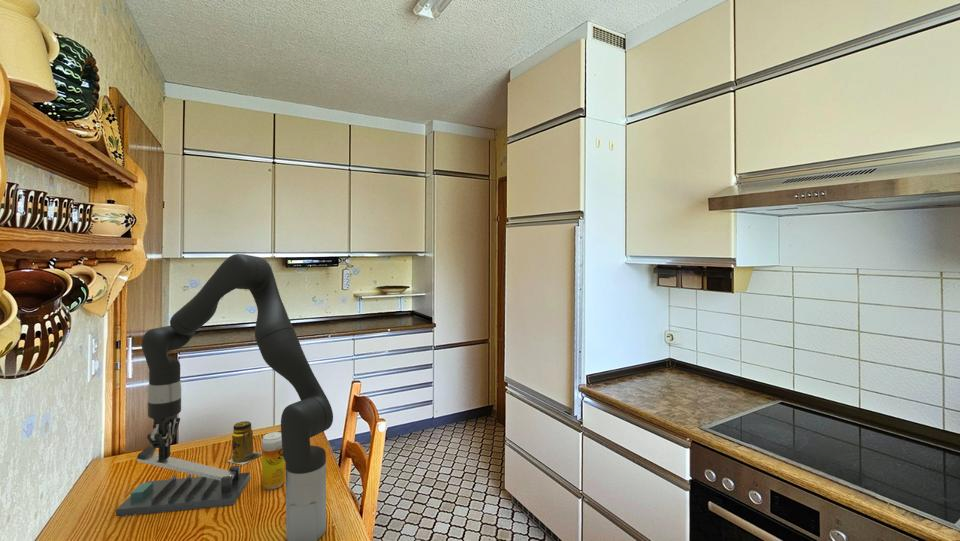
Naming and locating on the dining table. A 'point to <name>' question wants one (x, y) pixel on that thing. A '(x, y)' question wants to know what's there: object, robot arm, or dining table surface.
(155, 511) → the clamp base
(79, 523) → the dining table surface
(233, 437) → the condiment
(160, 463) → the bar
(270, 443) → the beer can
